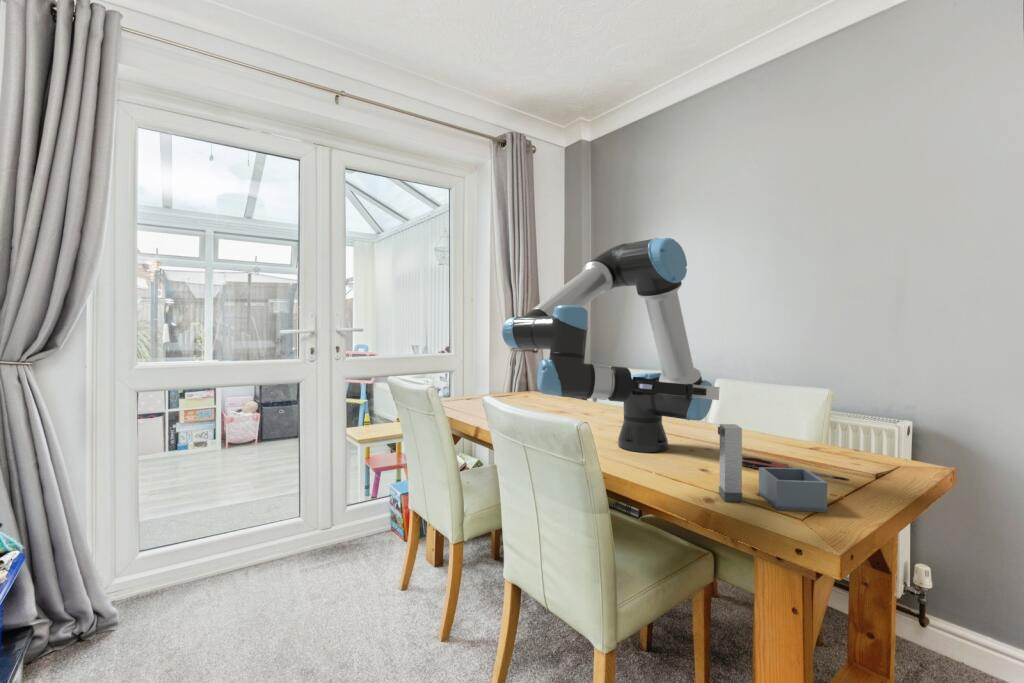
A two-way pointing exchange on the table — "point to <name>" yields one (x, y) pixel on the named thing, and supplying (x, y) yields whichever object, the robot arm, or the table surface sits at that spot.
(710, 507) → the table surface
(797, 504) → the caddy
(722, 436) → the brushed metal post
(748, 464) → the screwdriver
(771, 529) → the table surface
